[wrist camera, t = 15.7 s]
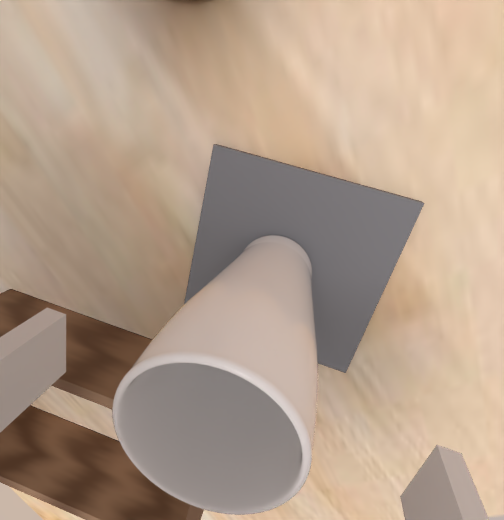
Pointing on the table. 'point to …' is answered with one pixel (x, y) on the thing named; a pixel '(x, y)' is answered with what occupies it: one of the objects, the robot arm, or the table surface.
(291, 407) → the drinking glass
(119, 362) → the walnut open box frame
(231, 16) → the table surface
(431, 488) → the robot arm
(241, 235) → the charcoal mat
